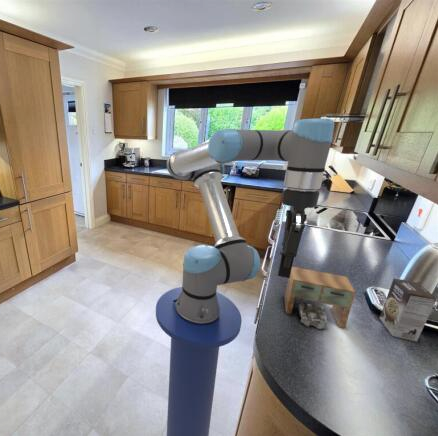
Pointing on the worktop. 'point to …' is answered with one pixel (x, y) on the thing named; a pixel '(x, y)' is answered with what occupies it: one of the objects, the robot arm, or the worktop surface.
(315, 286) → the drawer unit
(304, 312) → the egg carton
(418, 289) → the coffee box
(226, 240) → the robot arm
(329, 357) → the worktop surface
